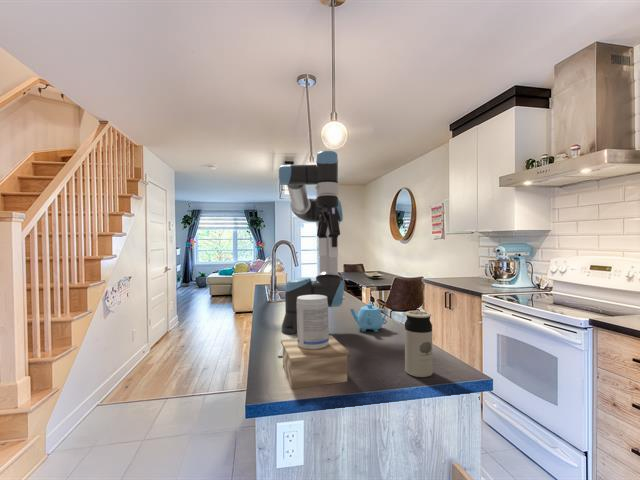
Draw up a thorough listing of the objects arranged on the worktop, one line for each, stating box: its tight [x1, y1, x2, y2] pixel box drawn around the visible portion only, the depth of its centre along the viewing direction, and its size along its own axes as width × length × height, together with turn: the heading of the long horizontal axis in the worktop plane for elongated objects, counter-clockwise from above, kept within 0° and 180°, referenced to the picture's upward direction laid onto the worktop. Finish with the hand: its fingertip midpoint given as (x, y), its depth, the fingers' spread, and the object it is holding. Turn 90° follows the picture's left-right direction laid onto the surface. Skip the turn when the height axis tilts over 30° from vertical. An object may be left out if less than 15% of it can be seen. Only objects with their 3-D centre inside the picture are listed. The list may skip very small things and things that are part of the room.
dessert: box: [277, 346, 283, 358], centre depth 117 cm, size 12×12×5 cm
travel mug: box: [404, 310, 434, 378], centre depth 98 cm, size 8×8×18 cm
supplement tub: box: [296, 295, 330, 349], centre depth 98 cm, size 10×10×15 cm
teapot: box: [349, 300, 388, 333], centre depth 146 cm, size 15×14×11 cm
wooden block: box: [280, 335, 350, 389], centre depth 97 cm, size 17×17×8 cm
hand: (327, 256), depth 113 cm, fingers open, 13 cm apart
